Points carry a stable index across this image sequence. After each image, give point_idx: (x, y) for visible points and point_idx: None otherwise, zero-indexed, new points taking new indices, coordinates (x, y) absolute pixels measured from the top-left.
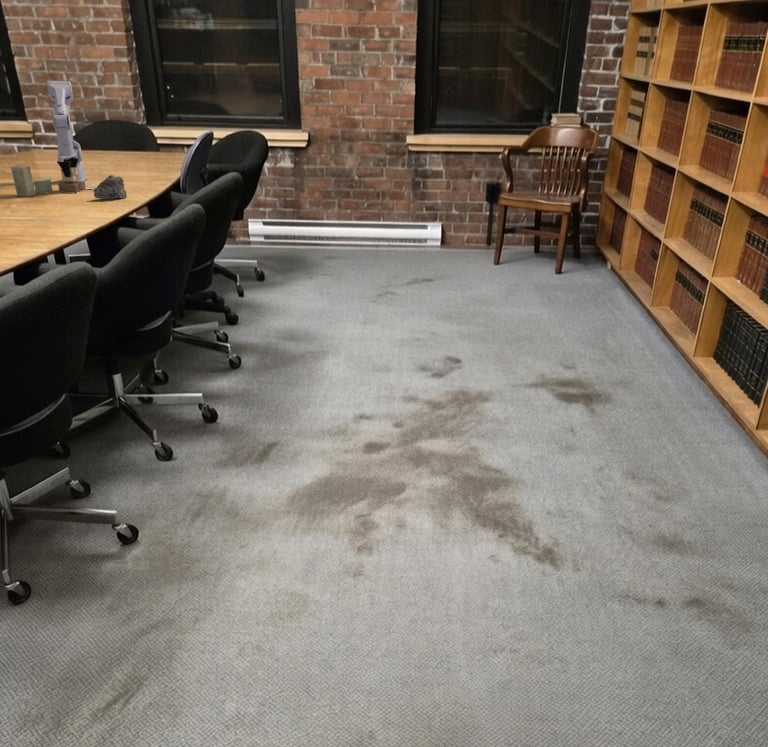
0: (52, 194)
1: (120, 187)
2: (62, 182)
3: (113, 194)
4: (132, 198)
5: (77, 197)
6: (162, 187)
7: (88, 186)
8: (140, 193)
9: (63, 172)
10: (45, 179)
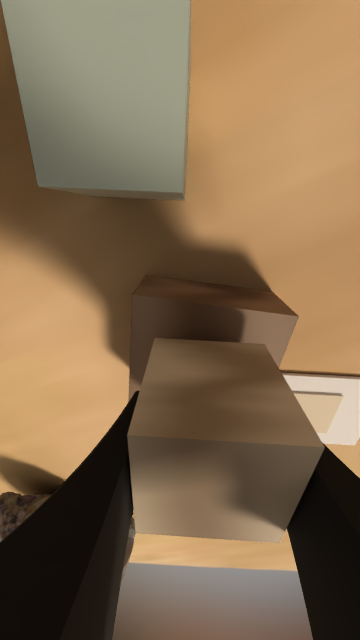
0: (53, 263)
1: None
2: (183, 312)
3: None
4: None
5: (44, 407)
6: None
7: (321, 384)
8: (195, 543)
9: (112, 428)
10: (151, 125)
